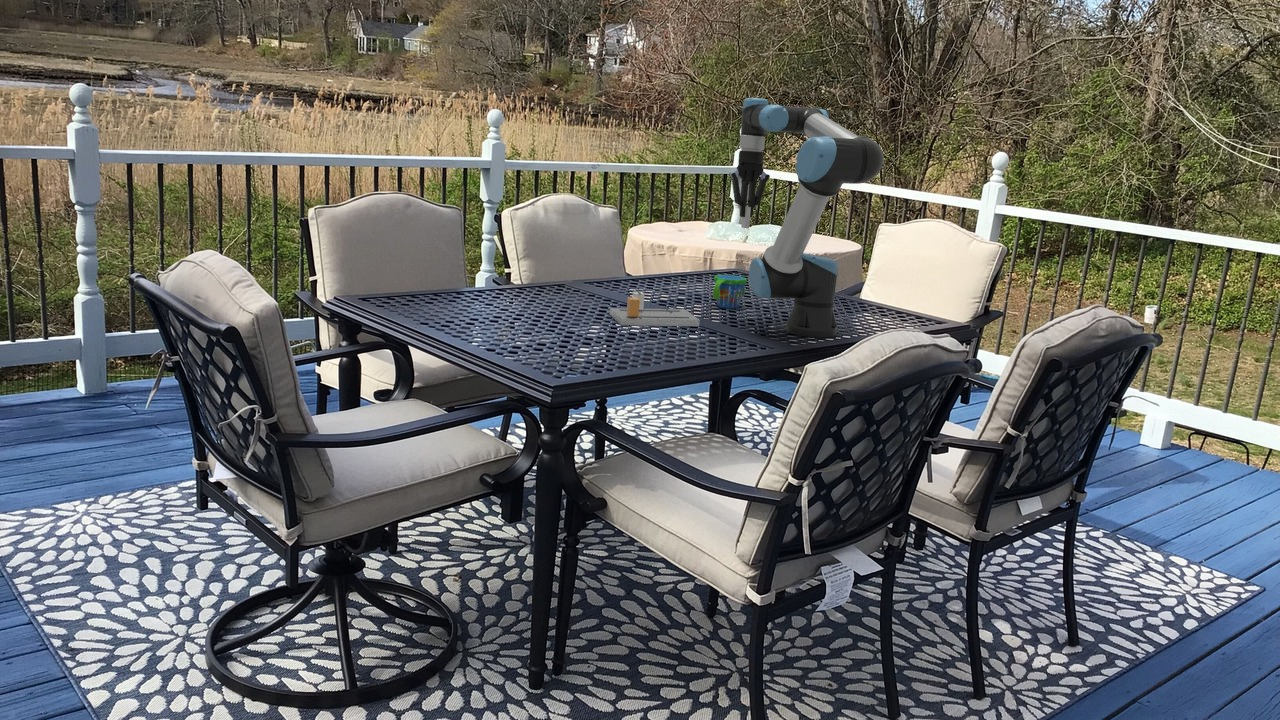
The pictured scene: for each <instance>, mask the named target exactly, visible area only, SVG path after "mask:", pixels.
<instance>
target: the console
mask: <svg viewBox="0 0 1280 720" xmlns="http://www.w3.org/2000/svg"><path fill="white" fill-rule="evenodd" d="M609 316H611V317H612V318H613V319H614V320H615V322H617V323H618V324H619V325H620V326H627V327H628V326H629V325H630V326H631V327H632V326H638V327H639V326H642V327H643V326H646V327H647V326H648V327H660V326H661V327H700V323H701V321H700V319H699V318H698V317H696V316H695V315H693V314H692V313H691V312H690V311H688V310H686V309H685V308H684V309H683V308H682V309H680V308H679V309H678V308H676V309H675V308H672V309H671V308H644V309H643V310H639V316H628V315H627V307H626V308H623V307H622V308H621V307H620V308H619V307H615V308H614V307H610V308H609Z"/></svg>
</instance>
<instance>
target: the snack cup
mask: <svg viewBox="0 0 1280 720" xmlns="http://www.w3.org/2000/svg"><path fill="white" fill-rule="evenodd" d="M713 280H714V283H715V284H714V287H713V292H712V298H713V299H715V300H716V306H717V307H719V308H721V309H731V310H733V309H738V308H740V305H741V300H742V297H744V295H745V293H746V287H745V285H746V284H747V282H748V280H747V278H746V277H743V276H739V275H729V274H716V275H715V276H714V277H713Z"/></svg>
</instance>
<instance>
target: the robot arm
mask: <svg viewBox="0 0 1280 720" xmlns="http://www.w3.org/2000/svg"><path fill="white" fill-rule="evenodd" d="M740 126H741V127H740V139H739V140H740V141H739V149H741V150H739V152H738V164H737V166H736V170H734V171H732V172H729V177H730V180H731V184H732V190H733V199H734V200H733V201H734V203H735V204H737V205H739V217H740V218H741V226H740V228H743V229H750V224H751V223H750V220H751V218H753V216H754V208H755V207H757V206H759V205H760V204H761V201H762V197H763V195H764V191H765V188H766V184H767V182H768V180H769V179H770V177H771V175H770V174H767V173H766V172H765V171H764V167H763V164H764V154H765V153H764V152H763V151H764V150H765V144H766V143H765V142H766V132H769V133H771V132H773V133H789V134H790V133H793V134H803V135H804V136H806V137H808V139H806V140H805V141H804V142H803V143H802V144H801V146H800V148H799V149H798V152H797V155H796V158H795V159H796V163H795V173H796V176H797V180H798V182H799V187H798V189H797V191H796V193H795V196H794V198H793V199H792V200H793V201H792V203H791V205H790V206H789V208H788V211H787V214H786V216H785V218H784V220H783V223H782V225H781V227H780V230H779V232H778V234H777V236H776V239H775V240H774V243H773V245H771V246H768V247H767V248H766V249H765V251H764V253H763V255H762V257H759V256H757V257H756V258H753V259H752V260H751V261H750V264H749V270H748V271H749V272H748V276H749V284H750V288H751V291H752V292H753V294H754V295H755V296H756V297H758V298H760V299H768V300H770V299H794V303H793V307H792V309H791V311H790V314H789V316H788V318H787V321H786V323H785V331H786V332H788V333H789V334H792V335H795V336H796V335H797V336H800V337H809V338H819V339H820V338H821V339H823V338H824V339H825V338H833V337H836V336H837V332H838V325H837V321H836V316H835V312H834V305H835V296H836V287H837V278H838V276H839V275H838V267H839V264H838V262H837V261H836V260H835V259H833V258H829V257H825V256H821V255H815V254H810V253H804V252H805V250H806V247H807V246H808V244H809V241H810V239H811V238H812V235H813V233H814V232H815V229H816V227H817V225H818V223H819V221H820V218H821V217H822V214H823V212H824V210H825V208H826V206H827V203H828V202H829V200H830V198H832V197H833V198H834V196H837V195H838V193H839V192H840V190H841V188H842V186H843V184H848V185H849V184H852V185H854V184H858V185H860V184H864V183H867V182H869V181H871V180H873V179H874V178H875V177H877V176H878V174H879V173H880V171H881V170H882V167H883V165H884V153H883V150H882V148H881V146H880V145H879V144H878V143H877V142H876V141H875V140H873V139H871V138H870V137H867V136H866V135H857V134H855V132H852V131H851V130H848V129H847V128H845V127H844V126H842V125H840V124H838V123H837V122H835V121H834V120H832V119H830V117H829V114H828V112H827V111H826V109H823V108H817V107H801V106H800V107H798V106H789V105H788V106H786V105H778V104H773V103H772V104H769V102H768V99H766V98H760V97H759V98H758V97H757V98H756V97H746V98H745V99H744V100H743V104H742V109H741V125H740ZM739 177H740V179H741V182H740V183H741V187H740V183H739V179H738V178H739ZM759 178H760V179H759ZM758 180H759V182H758ZM757 182H758V183H757ZM757 184H758V185H757Z"/></svg>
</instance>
